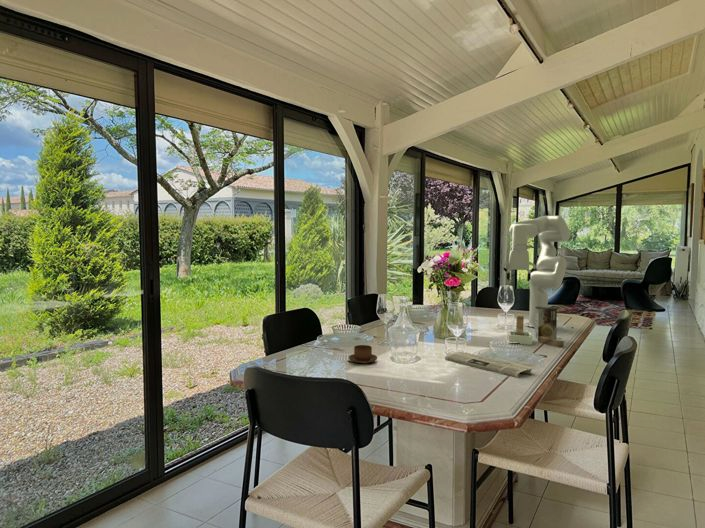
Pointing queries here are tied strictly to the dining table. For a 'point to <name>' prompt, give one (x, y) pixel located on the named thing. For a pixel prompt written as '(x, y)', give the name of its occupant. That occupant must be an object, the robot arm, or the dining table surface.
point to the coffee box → (545, 322)
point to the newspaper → (490, 364)
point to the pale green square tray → (520, 337)
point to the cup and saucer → (363, 354)
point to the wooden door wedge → (550, 341)
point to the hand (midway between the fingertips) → (518, 280)
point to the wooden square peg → (519, 324)
